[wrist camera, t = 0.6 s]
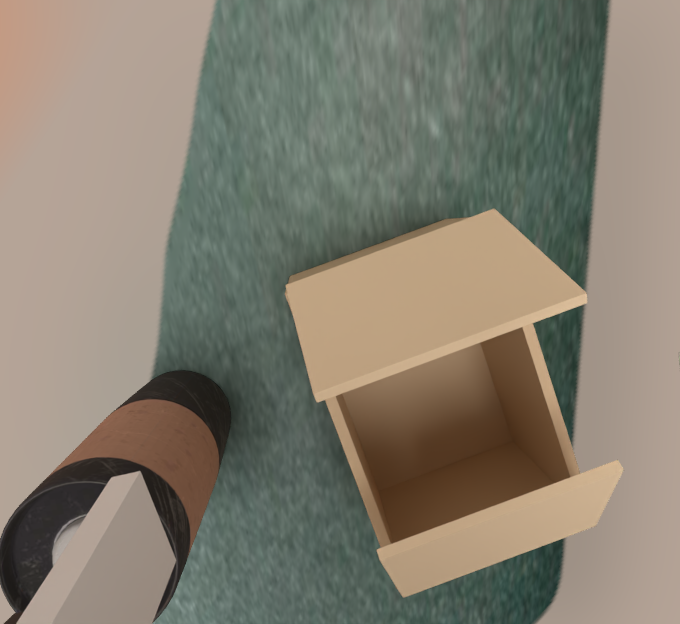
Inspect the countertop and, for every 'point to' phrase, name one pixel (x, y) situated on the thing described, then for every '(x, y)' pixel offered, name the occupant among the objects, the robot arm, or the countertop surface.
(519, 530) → the far flap
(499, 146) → the countertop surface
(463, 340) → the near flap
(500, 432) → the carton
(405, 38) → the countertop surface
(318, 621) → the countertop surface
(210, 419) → the travel mug
